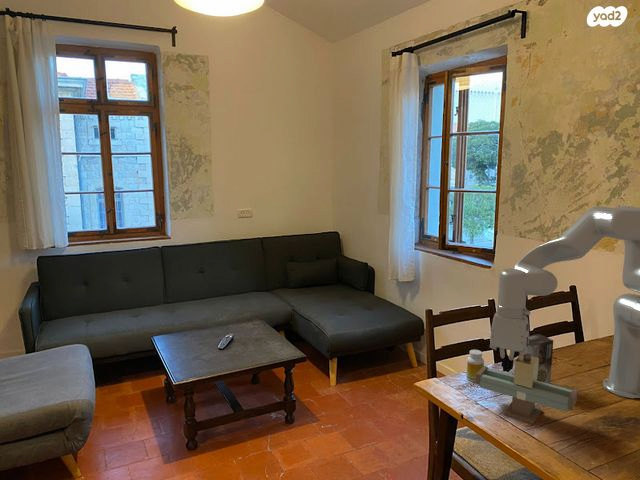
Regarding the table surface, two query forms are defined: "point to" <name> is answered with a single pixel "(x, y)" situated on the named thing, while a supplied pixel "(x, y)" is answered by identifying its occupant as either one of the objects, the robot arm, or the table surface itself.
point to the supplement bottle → (474, 364)
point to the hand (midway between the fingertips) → (506, 370)
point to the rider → (526, 370)
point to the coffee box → (542, 355)
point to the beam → (526, 394)
